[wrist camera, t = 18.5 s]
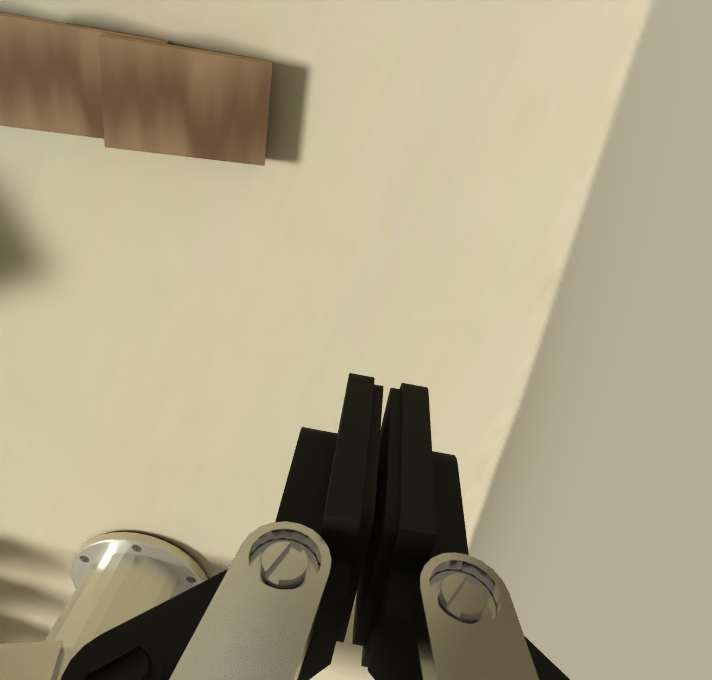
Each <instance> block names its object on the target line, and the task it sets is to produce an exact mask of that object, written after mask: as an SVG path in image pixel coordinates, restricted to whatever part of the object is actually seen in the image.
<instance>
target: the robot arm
mask: <svg viewBox="0 0 712 680" xmlns="http://www.w3.org/2000/svg"><path fill="white" fill-rule="evenodd" d="M382 399H383V386H379V385H374V378H373V377H368V376H363V375H357V374H352V373H349V378H348V383H347V388H346V393H345V398H344V404H343V409H342V414H341V419H340V425H339V430H338V434H337V433H331V432H326V431H321V430H315V429H310V428H305V427H302V428H301V431H300V435H299V438H298V442H297V445H296V449H295V453H294V456H293V460H292V464H291V467H290V471H289V474H288V478H287V482H286V485H285V489H284V493H283V496H282V500H281V504H280V507H279V511H278V514H277V518H276V522H273V523H270V524H267V525H264V526H261V527H259V528H258V529H256V530H255V531H253V532H252V533H250V534H249V535H248V537H247V538H246V539H245V540H244V542H243V543H242V545H241V546H240V548H239V550H238V552H237V554H236V556H235V558H234V560H233V561H232V563H231V565H230V567H229V569H227V570H225V571H223V572H221V573H219V574H217V575H216V576H214V577H212V578H210V579H207V577H206V575H205V573H204V571H203V570H202V569H201V568H200V566H199V565H198V564H197V562H195V561H194V560H193V559H192V558H191V557H190V556H189V555H188V554H186V553H185V552H183V551H182V550H180V549H179V548H178V547H176V546H174V545H172V544H170V543H168V542H166V541H164V540H161V539H158V538H155V537H152V536H149V535H144V534H140V533H131V532H112V533H107V534H102V535H99V536H97V537H94V538H92V539H90V540H89V541H87V542H86V543H85V544H83V546H82V547H81V548H80V550H79V551H78V552H77V554H76V555H75V557H74V559H73V561H72V564H71V570H70V571H71V578H72V581H73V584H74V586H75V588H76V590H75V591H74V593H73V595H72V596H71V598H70V600H69V601H68V603H67V605H66V606H65V608H64V610H63V611H62V613H61V615H60V616H59V618H58V619H57V621H56V623H55V624H54V626H53V628H52V629H51V631H50V633H49V634H48V636H47V638H46V639H45V641H44V642H23V643H3V644H0V680H309V679H311V678H312V677H313V676H315V675H316V674H317V673H319V672H320V671H322V670H323V669H324V668H326V667H327V666H328V665H330V664H331V660H332V656H333V652H334V648H335V644H336V641H339V642H344V639H345V635H346V631H347V627H348V623H349V619H350V615H351V611H352V607H353V603H354V599H355V596H356V606H355V617H354V628H353V644H355V645H361V646H363V651H362V665H361V666H365V667H368V671H369V673H370V674H371V675H372V677H373V678H374V679H375V680H570V679H569V678H568V677H567V676H565V674H564V673H562V672H561V671H560V670H559V669H558V668H557V667H556V666H555V665H554V664H553V663H552V662H551V661H550V660H549V659H548V658H547V657H546V656H545V655H544V654H543V653H542V652H540V650H538V649H537V648H536V647H535V646H534V645H533V644H532V643H531V642H530V641H529V640H528V639H527V638H526V637H525V636H524V635H523V632H522V629H521V626H520V623H519V620H518V617H517V614H516V612H515V608H514V606H513V603H512V600H511V597H510V594H509V592H508V590H507V588H506V586H505V584H504V582H503V580H502V579H501V578H500V577H499V576H498V574H497V573H496V572H495V571H494V570H493V569H492V568H491V567H489V566H488V565H486V564H485V563H484V562H482V561H481V560H478V559H476V558H474V557H471V556H469V554H468V546H467V538H466V529H465V521H464V513H463V505H462V496H461V488H460V480H459V471H458V463H457V459H456V457H455V455H450V454H444V453H439V452H434V451H432V443H431V426H430V410H429V394H428V388H427V387H421V386H416V385H411V384H405V383H402V384H401V387H400V389H395V388H391V389H390V392H389V396H388V401H387V405H386V409H385V413H384V417H383V422H382V426H381V414H382ZM380 428H381V430H380ZM356 592H357V595H356Z"/></svg>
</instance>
